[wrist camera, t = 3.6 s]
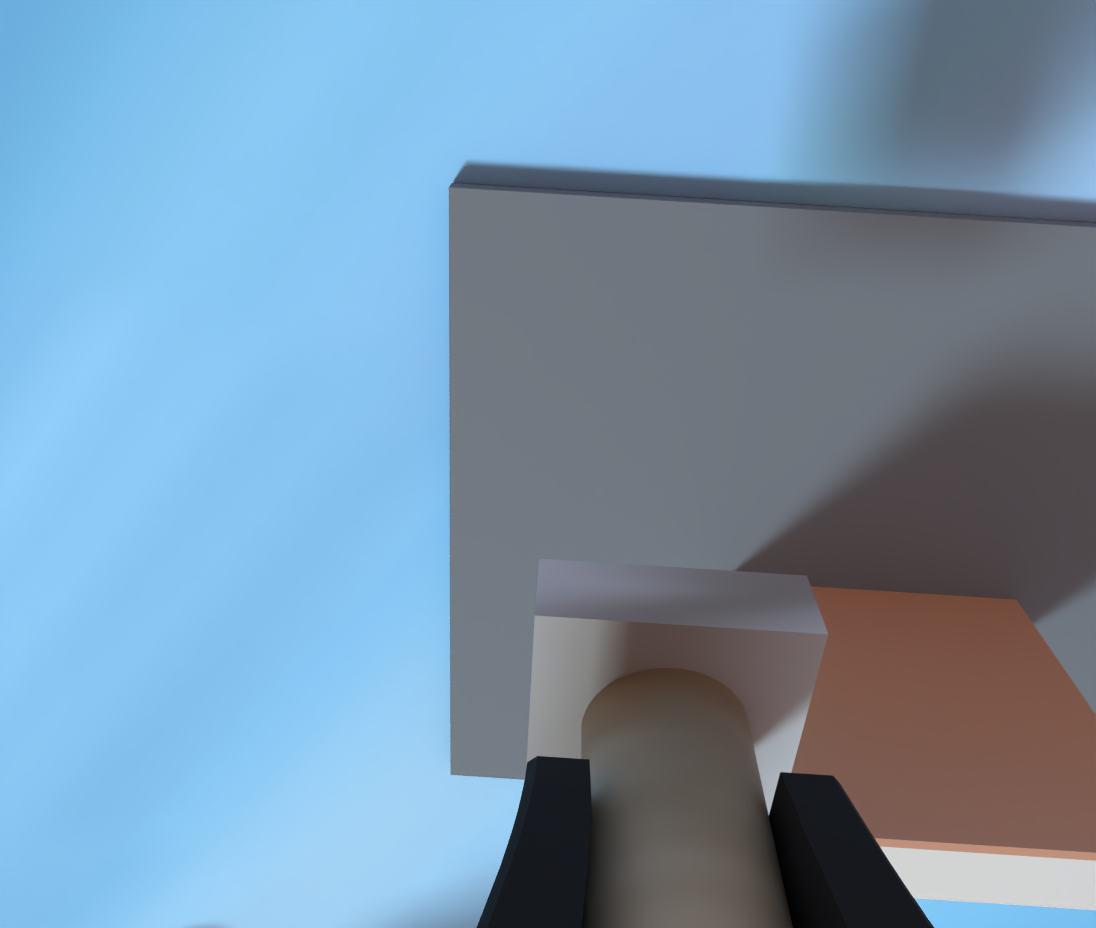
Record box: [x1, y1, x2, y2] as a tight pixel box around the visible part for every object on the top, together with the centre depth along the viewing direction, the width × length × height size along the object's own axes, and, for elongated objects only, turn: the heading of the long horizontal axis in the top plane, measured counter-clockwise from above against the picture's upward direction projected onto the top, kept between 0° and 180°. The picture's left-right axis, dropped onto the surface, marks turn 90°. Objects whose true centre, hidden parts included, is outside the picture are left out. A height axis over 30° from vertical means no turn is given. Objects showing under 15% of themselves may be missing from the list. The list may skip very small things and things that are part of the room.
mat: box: [449, 183, 1096, 780], centre depth 21 cm, size 20×16×1 cm
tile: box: [791, 586, 1096, 910], centre depth 18 cm, size 7×2×7 cm, turn 87°
